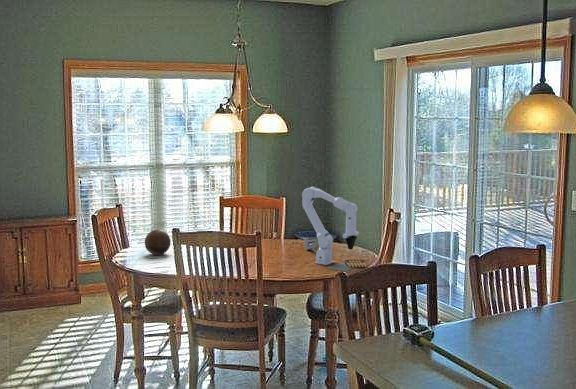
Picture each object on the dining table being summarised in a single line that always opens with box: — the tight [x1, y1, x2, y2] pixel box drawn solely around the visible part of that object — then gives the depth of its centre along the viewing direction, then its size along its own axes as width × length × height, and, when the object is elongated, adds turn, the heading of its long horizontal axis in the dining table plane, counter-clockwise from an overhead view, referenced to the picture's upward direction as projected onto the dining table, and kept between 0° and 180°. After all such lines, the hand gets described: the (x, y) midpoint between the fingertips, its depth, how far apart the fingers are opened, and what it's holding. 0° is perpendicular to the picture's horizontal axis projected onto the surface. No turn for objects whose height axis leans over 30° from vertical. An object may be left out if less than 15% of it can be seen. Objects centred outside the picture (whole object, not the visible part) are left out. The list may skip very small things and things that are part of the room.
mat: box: [326, 262, 359, 272], centre depth 364 cm, size 17×12×1 cm
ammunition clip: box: [344, 259, 368, 268], centre depth 367 cm, size 11×2×12 cm
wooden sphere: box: [144, 229, 171, 256], centre depth 392 cm, size 15×15×15 cm
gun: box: [303, 238, 319, 254], centre depth 402 cm, size 3×25×15 cm, turn 19°
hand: (350, 249), depth 369 cm, fingers closed
